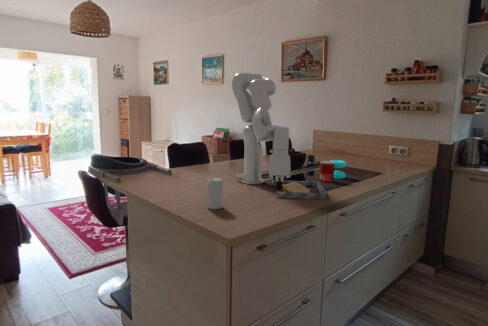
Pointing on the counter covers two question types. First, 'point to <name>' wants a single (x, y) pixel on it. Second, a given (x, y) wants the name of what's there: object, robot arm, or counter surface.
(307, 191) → the bread slice
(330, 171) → the canned food
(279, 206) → the counter surface
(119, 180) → the counter surface
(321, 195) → the corral
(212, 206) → the beverage can
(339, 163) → the donuts
